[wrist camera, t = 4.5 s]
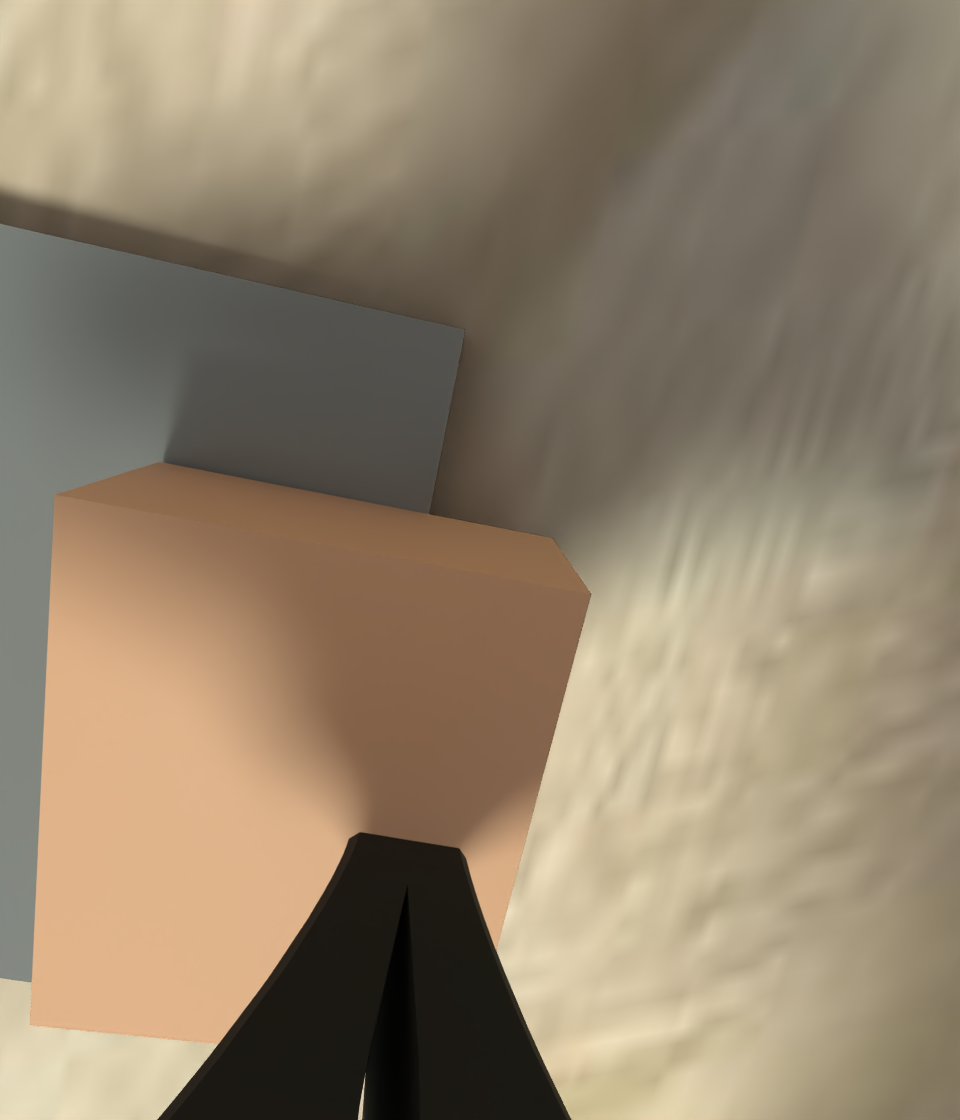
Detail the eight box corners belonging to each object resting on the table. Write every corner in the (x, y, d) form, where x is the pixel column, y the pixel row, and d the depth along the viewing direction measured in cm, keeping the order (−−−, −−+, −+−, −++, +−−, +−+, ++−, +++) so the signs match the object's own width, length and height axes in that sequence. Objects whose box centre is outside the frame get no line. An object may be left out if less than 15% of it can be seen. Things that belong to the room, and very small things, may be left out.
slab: (591, 594, 8) (54, 494, 8) (464, 1068, 10) (30, 1024, 10) (552, 537, 11) (158, 461, 11) (459, 918, 13) (123, 876, 13)
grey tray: (464, 334, 12) (465, 323, 9) (338, 973, 15) (318, 1071, 13) (-213, 180, 11) (-382, 131, 8) (-178, 899, 14) (-290, 991, 12)
